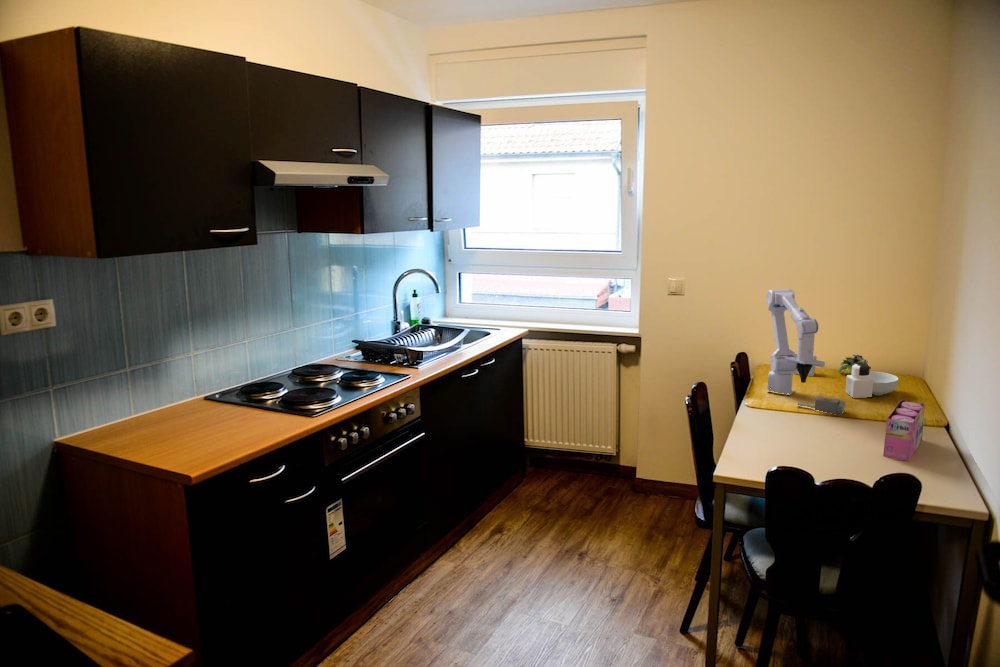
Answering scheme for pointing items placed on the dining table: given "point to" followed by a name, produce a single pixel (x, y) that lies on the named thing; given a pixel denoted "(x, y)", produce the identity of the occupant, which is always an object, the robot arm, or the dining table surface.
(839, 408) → the rail
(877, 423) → the dining table surface
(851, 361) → the potted plant
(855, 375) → the container
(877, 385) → the cereal bowl
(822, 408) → the block
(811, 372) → the electrical switch
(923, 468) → the dining table surface
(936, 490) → the dining table surface
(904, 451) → the gum box
